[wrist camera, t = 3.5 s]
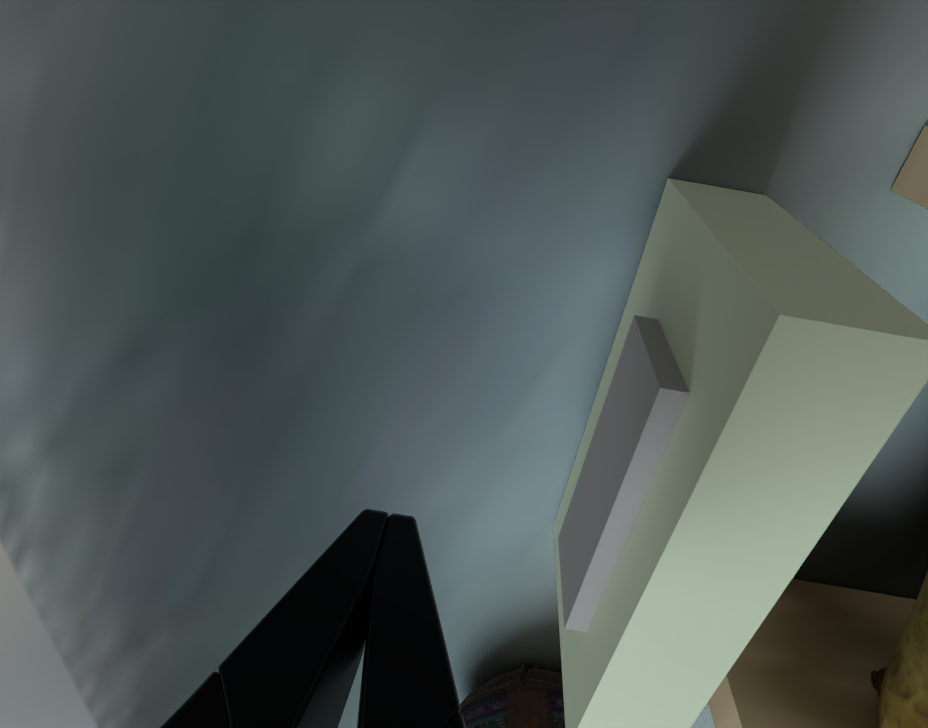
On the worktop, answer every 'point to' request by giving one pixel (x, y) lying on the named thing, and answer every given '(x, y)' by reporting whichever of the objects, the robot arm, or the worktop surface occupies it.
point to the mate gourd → (517, 701)
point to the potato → (906, 674)
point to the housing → (820, 624)
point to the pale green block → (717, 449)
